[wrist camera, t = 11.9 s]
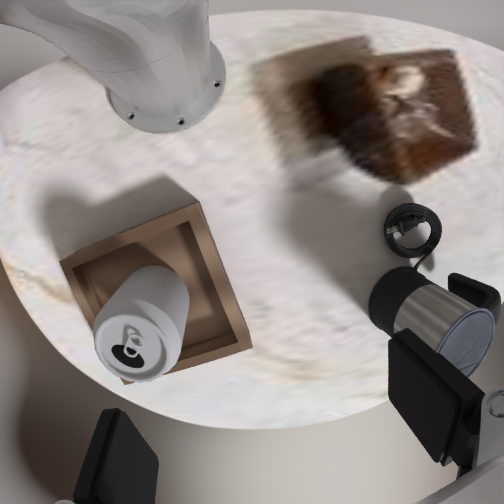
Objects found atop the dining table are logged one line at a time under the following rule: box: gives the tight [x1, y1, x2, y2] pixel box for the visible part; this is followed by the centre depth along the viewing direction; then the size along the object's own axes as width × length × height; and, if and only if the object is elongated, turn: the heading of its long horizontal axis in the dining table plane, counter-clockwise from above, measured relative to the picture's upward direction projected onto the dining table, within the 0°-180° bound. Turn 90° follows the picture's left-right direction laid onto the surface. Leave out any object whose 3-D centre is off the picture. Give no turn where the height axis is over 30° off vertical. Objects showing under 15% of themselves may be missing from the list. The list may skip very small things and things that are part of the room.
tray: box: [60, 201, 253, 385], centre depth 31 cm, size 16×16×4 cm
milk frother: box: [369, 203, 501, 378], centre depth 29 cm, size 14×16×15 cm
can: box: [93, 265, 189, 383], centre depth 27 cm, size 8×8×12 cm
